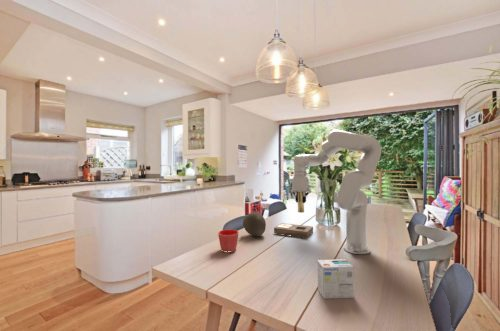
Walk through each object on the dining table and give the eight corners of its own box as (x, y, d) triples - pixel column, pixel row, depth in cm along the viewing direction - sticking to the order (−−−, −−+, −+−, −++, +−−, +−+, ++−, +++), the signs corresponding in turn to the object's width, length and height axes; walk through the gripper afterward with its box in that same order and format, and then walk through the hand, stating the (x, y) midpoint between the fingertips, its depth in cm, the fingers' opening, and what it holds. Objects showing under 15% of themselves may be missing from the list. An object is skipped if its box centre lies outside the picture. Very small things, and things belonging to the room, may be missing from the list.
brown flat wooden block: (307, 238, 142) (307, 231, 142) (274, 233, 153) (273, 227, 153) (313, 232, 155) (312, 226, 155) (281, 228, 165) (281, 222, 165)
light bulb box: (346, 287, 85) (345, 258, 85) (354, 298, 78) (354, 266, 78) (316, 288, 84) (316, 259, 85) (323, 299, 78) (322, 267, 78)
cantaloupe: (256, 231, 159) (255, 209, 159) (270, 236, 148) (270, 212, 148) (239, 236, 150) (239, 212, 150) (253, 241, 139) (253, 216, 139)
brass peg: (304, 211, 152) (304, 190, 152) (303, 212, 148) (302, 190, 148) (298, 211, 154) (298, 189, 154) (296, 212, 150) (296, 190, 150)
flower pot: (241, 252, 122) (241, 233, 122) (221, 255, 118) (220, 236, 118) (235, 245, 132) (235, 228, 132) (216, 248, 128) (216, 230, 128)
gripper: (314, 174, 151) (315, 202, 151) (289, 174, 159) (290, 201, 159) (311, 174, 144) (312, 204, 144) (285, 174, 152) (286, 202, 152)
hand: (300, 202), depth 151 cm, fingers closed on brass peg, 4 cm apart
